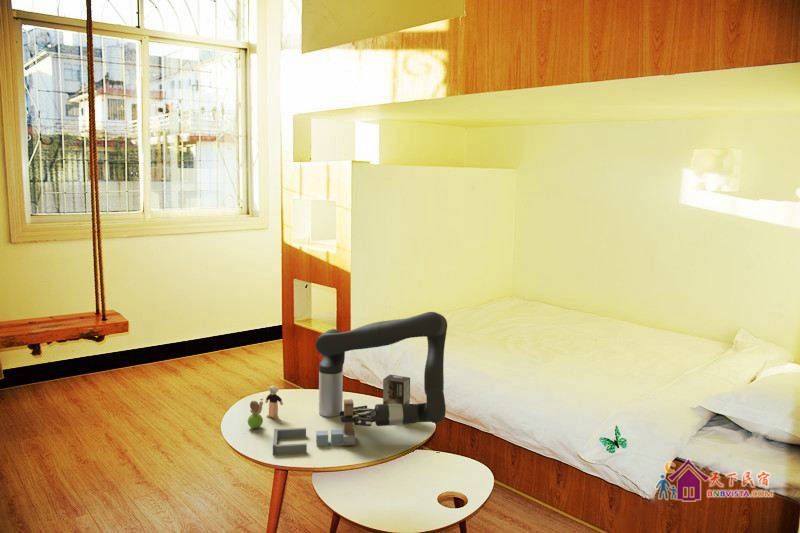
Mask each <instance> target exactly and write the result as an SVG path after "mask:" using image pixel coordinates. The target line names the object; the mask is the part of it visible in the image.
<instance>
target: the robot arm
mask: <svg viewBox="0 0 800 533" xmlns="http://www.w3.org/2000/svg"><path fill="white" fill-rule="evenodd" d="M447 330H448V321H447V319H446V317H445V316H444V315H442V314H440V313H439V312H436V311H428V312H424V313H421V314H418V315H413V316H410V317H407V318H401V319H400V318H399V319H390V320H382V321H378V322H377V321H376V322H372V323H367V324H365V325H363V326H359V327H356V328H353V329H352V330H347V331H343V332H342V331H340V330H339V329H337V328H331V329H328V330H327V331H325V332H323V333H321V334H320V335H319V336H318V338H317V339H316V341H315V350H316V351H317V352H318V353H319V354H320V355H322V357H321V361H320V362H319V363H318V364H319V365H318V413H319V415H320V416H323V417H325V418H326V417H327V418H328V417H329V418H331V417H340V423H343V424H344V423H346V422H352V423H353V426H360V427H361V426H362V427H372V423H375V426H377V427H386V426H387V427H388V426H390V427H391V426H399V425H411V424H416V423H433V424H439V423H441V422H442V421H443V420H444V419H445V418H446V413H447V412H446V411H447V410H446V409H447V408H446V400H445V394H444V388H445V385H444V384H445V383H444V381H445V380H444V375H445V374H444V359H445V357H444V356H445V355H444V354H445V345H446V337H447ZM420 337H421V338H425V337H426V339H427V356H426V362H425V366H424V372H423V374H424V377H423V378H424V380H423V381H424V382H423V384H424V387H423V388H424V393H425V396H426V402H422V403H410V404H383V403H378V404H375V405H374V408H370V407H369V408H368V405H360V406H355V407H354V406H353V416H344V410H343V396H344V395H343V389H344V388H343V383H344V382H343V378H344V377H343V368H344V364H345V358H346V357H345V355H346V352H349V351H357V350H365V349H372V348H374V349H375V348H380V347H387V346H390V345H394V344H397V343H399V342H401V341H404V340H407V339H412V338H413V339H414V338H420Z"/></svg>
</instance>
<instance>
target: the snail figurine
mask: <svg viewBox="0 0 800 533" xmlns="http://www.w3.org/2000/svg"><path fill="white" fill-rule="evenodd" d="M263 401H264V398H261V399H260V401H259V402H258V401H257V400H252V401H250V403H249V408H250V410H249V411H250V413H251V414H250V415H249V417H248V418H247V424H248V426H249V427H250V428H251V429H259V428H260V427H261V426H262V425H263V422H264V420H263V416H262V415H261V412H262V410H263V405H264V402H263Z"/></svg>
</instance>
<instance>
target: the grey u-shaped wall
mask: <svg viewBox="0 0 800 533" xmlns="http://www.w3.org/2000/svg"><path fill="white" fill-rule="evenodd" d="M306 437H307V427H295V428H294V427H292V428H275V429H274V430H273V440H272V455H273V456H277V455H278V456H280V455H282V454H283V455H298V454H299V455H301V453H302V454H307V453H308V450H307V448H308V446H307V445H308V444H307V442H306V443H305V442H304V443H289V444H288V443H287V444H278V439H292V438H293V439H295V438H306ZM275 454H276V455H275ZM279 454H280V455H279Z"/></svg>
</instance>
